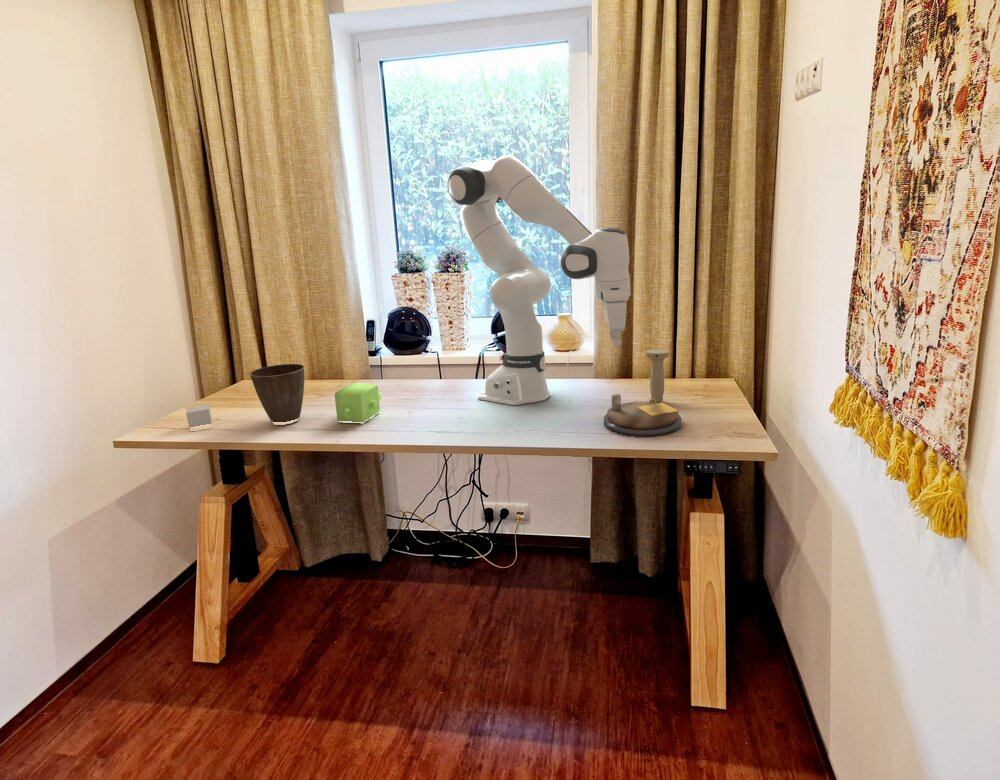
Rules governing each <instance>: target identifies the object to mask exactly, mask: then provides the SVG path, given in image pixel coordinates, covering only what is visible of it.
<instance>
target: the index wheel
mask: <svg viewBox="0 0 1000 780" xmlns="http://www.w3.org/2000/svg"><path fill="white" fill-rule="evenodd" d="M621 400H622V398H621V394H619V393H613V394H611V407H609V409H607V412H606V414H607V418H608V420H609V421H610V422H611V423H613V424H615V425H618V426H621V427H626V428H633V429H655V428H662V427H666V426H669V425H672V424H674V423H675V422H676V421H677V420H678V415H679V412H680V410H678V409H677V408H675V407H674V406H670V405H668V404H666V403H664V402H661V403H655V402H649V401H631V402H623V403H622V401H621Z"/></svg>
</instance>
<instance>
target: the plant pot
mask: <svg viewBox="0 0 1000 780" xmlns="http://www.w3.org/2000/svg"><path fill="white" fill-rule="evenodd" d="M249 375H250V379H251V381H252V384H253V388H254V391H255V392H256V396H258V399H259V401H260V404H261V405H262V406H261V407H262V408H263V409H264V412H265V414H266V415H267V417H268V418H269V420H270V422H271V421H273V422H287V421H291V420H295V419H297V418H299V417H300V416H301V413H302V406H303V402H304V401H303V400H304V393H305V392H304V391H305V366H304V365H303V364H298V363H285V364H284V363H282V364H274V365H267V366H264V367H260V368H256V369H255V370H252V371H251V372H250V373H249ZM300 418H301V417H300ZM300 418H299V419H300Z"/></svg>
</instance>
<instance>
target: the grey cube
mask: <svg viewBox="0 0 1000 780" xmlns="http://www.w3.org/2000/svg"><path fill="white" fill-rule="evenodd" d="M185 412H186V413H185V414H186V419H187V423H188V428H190V427H195V426H200V425H206V424H211V423H213V417H212V414H211V408H210V404H202V405H197V406H195V405H194V406H190V407H186V411H185Z"/></svg>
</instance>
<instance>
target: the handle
mask: <svg viewBox="0 0 1000 780" xmlns="http://www.w3.org/2000/svg"><path fill="white" fill-rule="evenodd" d="M669 356H670V351H669V350H667V349H647V350H646V351H645V357H647V359H650V361H651V363H650V378H649V379H650V380H649V382H650V383H649V389H650V396H651V398H650V399H656V403H663V399H664V393H665V371H664V370H665V368H664V360H665V359H667V358H668V357H669Z"/></svg>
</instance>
